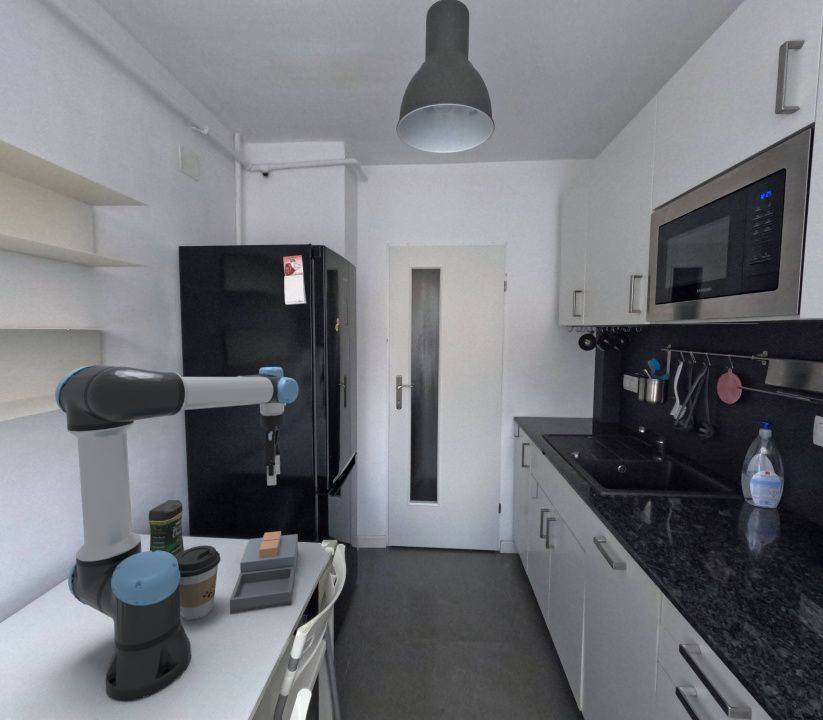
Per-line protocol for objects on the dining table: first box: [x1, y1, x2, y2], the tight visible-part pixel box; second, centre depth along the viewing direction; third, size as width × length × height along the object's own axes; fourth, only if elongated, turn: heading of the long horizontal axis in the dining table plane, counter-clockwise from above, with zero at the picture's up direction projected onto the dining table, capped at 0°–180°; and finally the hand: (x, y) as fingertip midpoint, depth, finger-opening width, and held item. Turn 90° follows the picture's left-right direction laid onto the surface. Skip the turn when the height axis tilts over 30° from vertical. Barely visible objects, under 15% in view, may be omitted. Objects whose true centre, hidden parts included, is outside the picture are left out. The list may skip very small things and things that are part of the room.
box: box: [229, 567, 295, 614], centre depth 108 cm, size 12×15×4 cm
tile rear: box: [262, 530, 282, 546], centre depth 124 cm, size 5×5×2 cm
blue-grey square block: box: [239, 533, 299, 577], centre depth 122 cm, size 14×15×6 cm
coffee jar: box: [147, 499, 185, 558], centre depth 125 cm, size 10×8×19 cm
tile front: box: [259, 540, 279, 558], centre depth 119 cm, size 5×5×2 cm
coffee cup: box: [176, 545, 221, 621], centre depth 102 cm, size 11×11×15 cm
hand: (273, 479), depth 132 cm, fingers open, 10 cm apart
